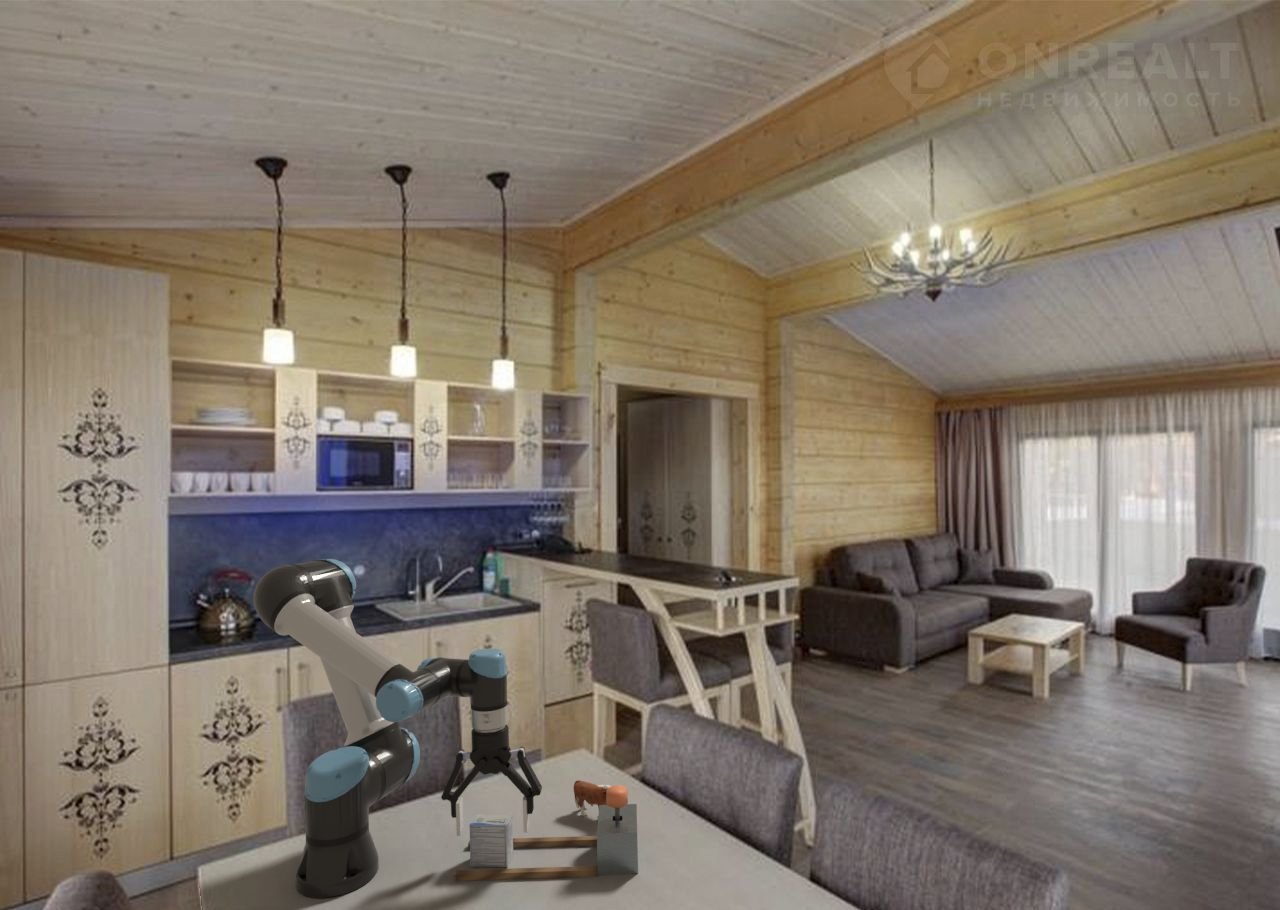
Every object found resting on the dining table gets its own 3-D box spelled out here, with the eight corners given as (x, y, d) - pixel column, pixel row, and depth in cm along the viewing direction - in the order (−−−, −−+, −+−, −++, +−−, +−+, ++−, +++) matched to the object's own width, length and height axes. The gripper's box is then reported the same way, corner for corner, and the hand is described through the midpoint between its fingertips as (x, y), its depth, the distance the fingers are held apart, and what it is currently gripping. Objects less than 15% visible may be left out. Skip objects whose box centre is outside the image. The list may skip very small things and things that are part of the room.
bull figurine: (614, 829, 156) (613, 792, 156) (570, 812, 164) (569, 777, 164) (626, 821, 159) (625, 785, 160) (582, 805, 168) (581, 770, 168)
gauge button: (606, 827, 142) (605, 795, 142) (607, 817, 147) (606, 785, 147) (628, 827, 142) (627, 794, 142) (628, 816, 147) (627, 785, 147)
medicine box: (513, 856, 146) (513, 814, 146) (507, 868, 141) (506, 825, 141) (477, 855, 146) (476, 813, 147) (469, 867, 142) (468, 824, 142)
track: (454, 880, 137) (454, 874, 137) (469, 845, 150) (469, 839, 150) (597, 876, 138) (597, 870, 138) (600, 841, 151) (600, 835, 151)
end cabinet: (597, 874, 138) (596, 833, 138) (600, 842, 150) (599, 805, 150) (638, 873, 138) (637, 832, 139) (637, 841, 150) (636, 803, 151)
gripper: (424, 736, 141) (427, 843, 140) (548, 730, 141) (552, 837, 140) (434, 723, 148) (437, 824, 147) (552, 717, 148) (555, 818, 148)
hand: (493, 831), depth 144 cm, fingers open, 13 cm apart
